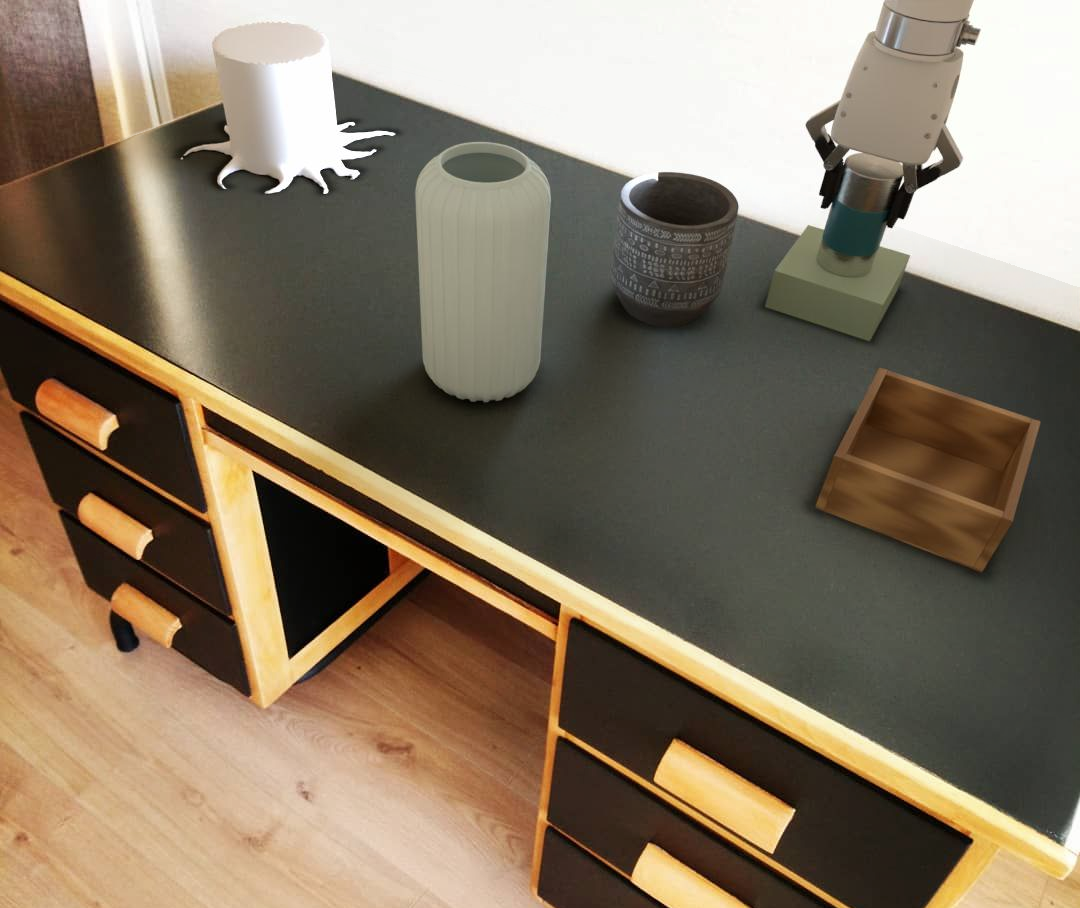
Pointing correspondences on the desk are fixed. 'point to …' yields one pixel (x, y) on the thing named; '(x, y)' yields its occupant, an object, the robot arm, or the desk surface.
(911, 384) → the wooden box
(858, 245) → the tea tin
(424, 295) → the vase
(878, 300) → the stand
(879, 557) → the desk surface
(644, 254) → the planter
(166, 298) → the desk surface
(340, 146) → the white tree stump model
